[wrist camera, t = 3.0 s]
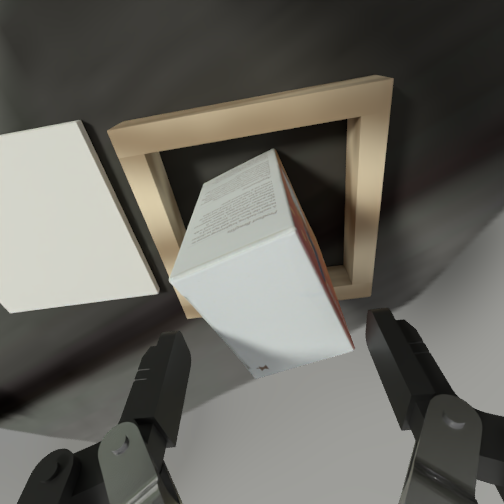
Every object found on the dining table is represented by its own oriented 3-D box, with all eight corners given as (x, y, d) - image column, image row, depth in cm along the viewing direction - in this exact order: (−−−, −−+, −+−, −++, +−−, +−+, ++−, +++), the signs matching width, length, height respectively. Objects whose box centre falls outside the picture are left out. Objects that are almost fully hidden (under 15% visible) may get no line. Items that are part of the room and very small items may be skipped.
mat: (-123, 157, 19) (-133, 160, 18) (80, 119, 17) (75, 121, 17) (14, 308, 27) (10, 313, 26) (159, 289, 25) (158, 293, 25)
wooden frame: (123, 121, 17) (106, 130, 15) (375, 74, 16) (393, 78, 14) (192, 297, 26) (187, 318, 24) (360, 275, 25) (370, 296, 23)
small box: (316, 237, 23) (359, 354, 14) (252, 263, 24) (255, 383, 15) (275, 143, 18) (299, 226, 10) (200, 181, 20) (164, 283, 11)
